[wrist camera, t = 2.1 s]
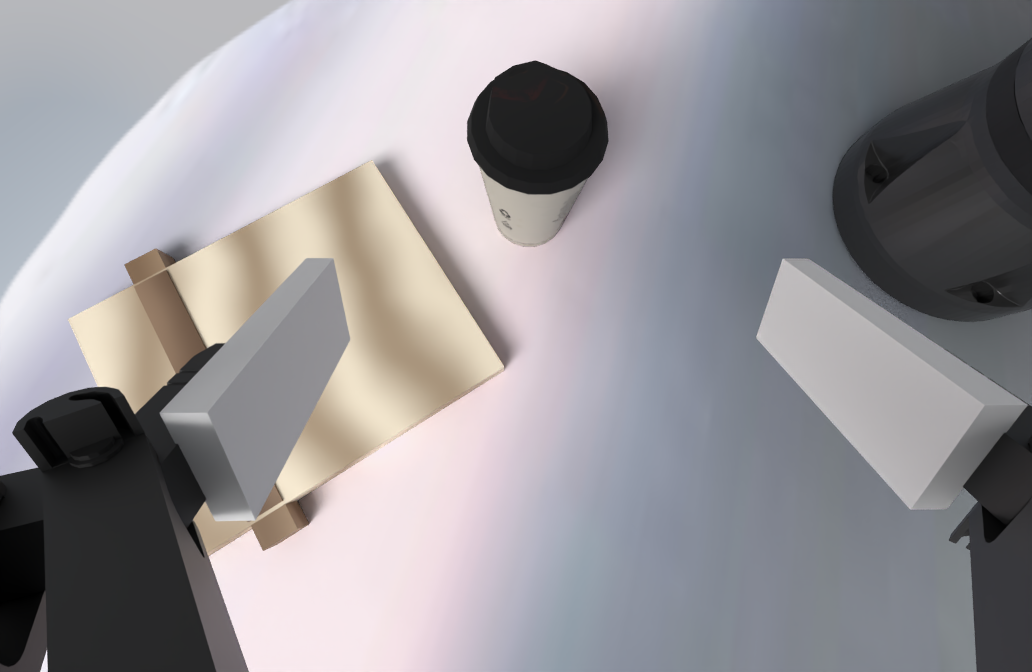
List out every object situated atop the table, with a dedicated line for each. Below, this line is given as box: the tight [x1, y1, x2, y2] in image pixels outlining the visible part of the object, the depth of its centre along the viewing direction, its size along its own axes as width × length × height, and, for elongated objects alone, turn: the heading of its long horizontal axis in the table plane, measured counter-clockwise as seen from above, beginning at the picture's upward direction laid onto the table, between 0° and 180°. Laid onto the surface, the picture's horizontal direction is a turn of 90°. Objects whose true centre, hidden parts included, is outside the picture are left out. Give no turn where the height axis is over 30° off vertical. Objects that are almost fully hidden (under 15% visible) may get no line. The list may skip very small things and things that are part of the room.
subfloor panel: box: [68, 160, 504, 556], centre depth 27 cm, size 20×19×2 cm
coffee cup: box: [467, 61, 608, 247], centre depth 26 cm, size 7×7×10 cm
